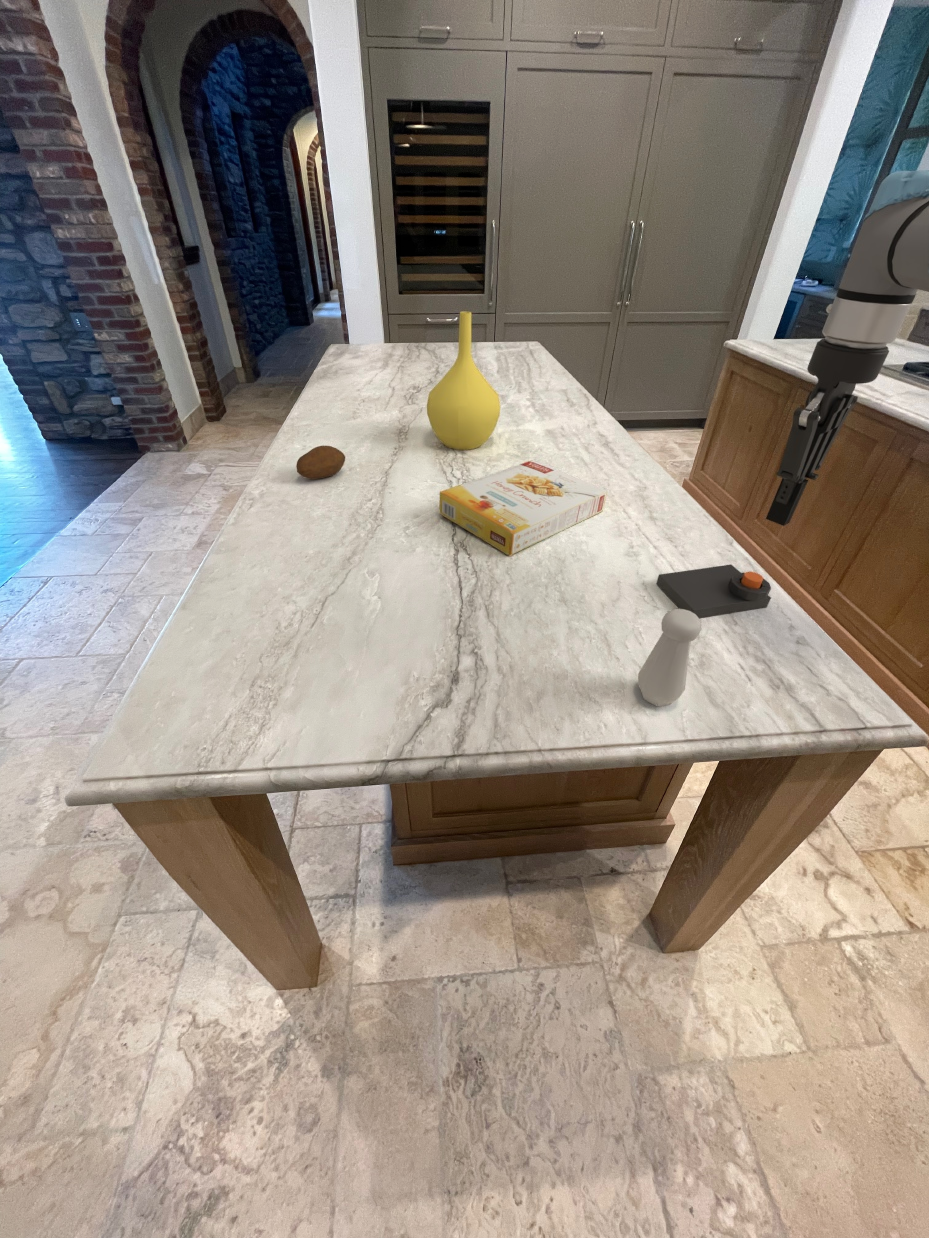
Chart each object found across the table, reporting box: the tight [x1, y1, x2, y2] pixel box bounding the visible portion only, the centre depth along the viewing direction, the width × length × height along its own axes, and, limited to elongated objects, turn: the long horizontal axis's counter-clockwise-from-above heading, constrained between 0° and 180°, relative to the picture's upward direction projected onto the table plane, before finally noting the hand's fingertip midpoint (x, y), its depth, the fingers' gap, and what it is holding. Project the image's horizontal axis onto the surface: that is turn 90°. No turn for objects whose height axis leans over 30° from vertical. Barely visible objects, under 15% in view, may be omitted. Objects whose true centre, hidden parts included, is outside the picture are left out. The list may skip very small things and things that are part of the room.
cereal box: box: [438, 458, 608, 556], centre depth 107 cm, size 20×6×28 cm
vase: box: [426, 310, 501, 451], centre depth 130 cm, size 18×18×30 cm
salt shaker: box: [637, 608, 702, 707], centre depth 66 cm, size 6×6×13 cm
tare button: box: [741, 571, 764, 589], centre depth 84 cm, size 3×3×2 cm
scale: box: [655, 564, 772, 619], centre depth 86 cm, size 14×10×4 cm
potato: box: [295, 445, 346, 480], centre depth 118 cm, size 7×12×7 cm, turn 136°
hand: (777, 520), depth 78 cm, fingers closed
